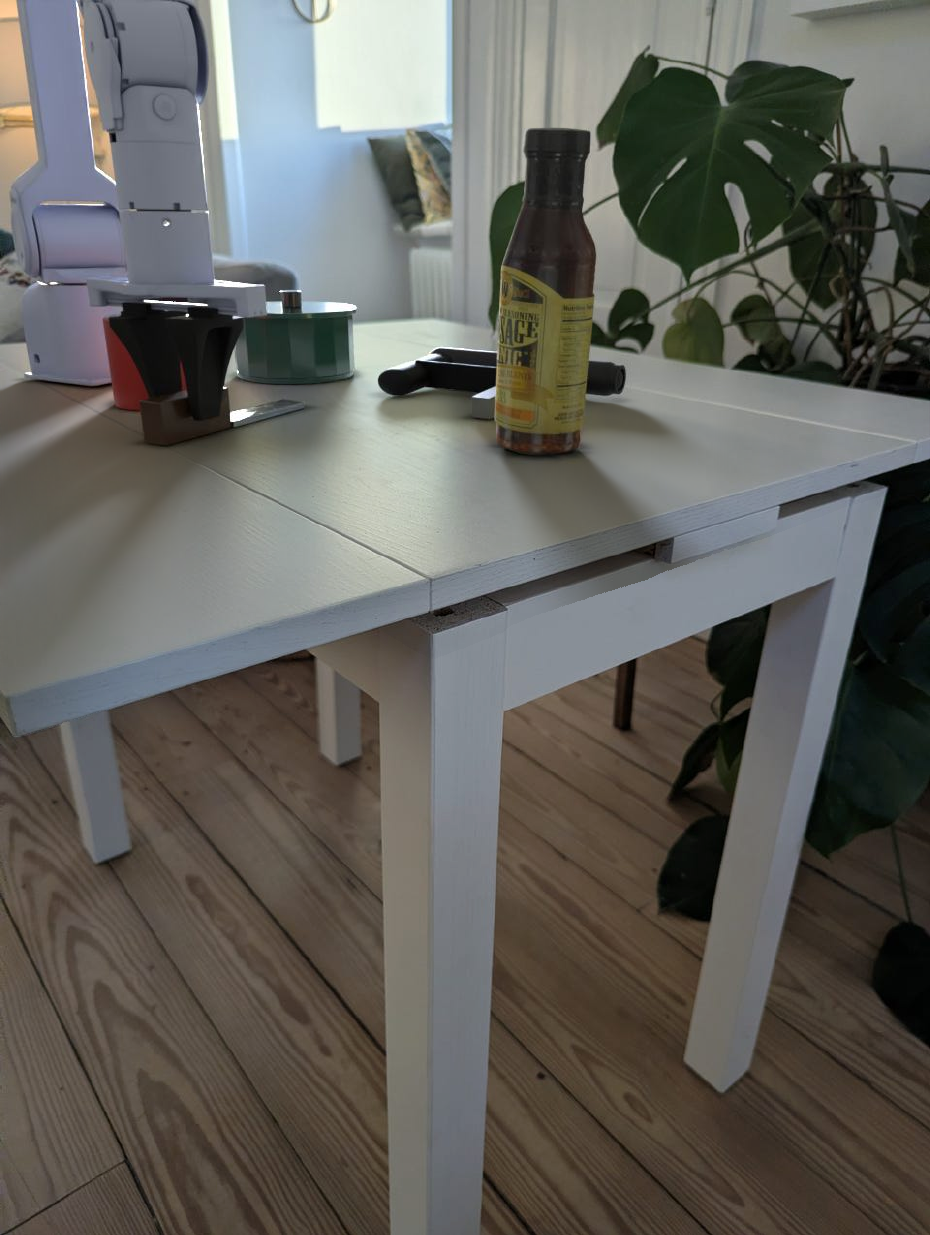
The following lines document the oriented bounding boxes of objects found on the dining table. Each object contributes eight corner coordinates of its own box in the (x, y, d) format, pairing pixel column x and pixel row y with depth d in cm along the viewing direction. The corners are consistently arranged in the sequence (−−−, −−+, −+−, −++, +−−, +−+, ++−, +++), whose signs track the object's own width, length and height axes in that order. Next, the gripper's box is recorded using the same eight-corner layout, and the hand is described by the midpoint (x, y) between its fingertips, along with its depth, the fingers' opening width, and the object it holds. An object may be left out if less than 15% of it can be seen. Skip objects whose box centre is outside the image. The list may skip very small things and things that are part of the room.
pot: (212, 377, 90) (206, 314, 87) (285, 362, 99) (281, 304, 97) (308, 388, 85) (304, 321, 82) (375, 371, 94) (373, 310, 92)
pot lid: (199, 320, 87) (196, 292, 86) (281, 310, 98) (279, 284, 96) (305, 328, 82) (304, 298, 81) (380, 316, 92) (379, 289, 91)
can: (96, 405, 76) (82, 317, 73) (157, 392, 82) (147, 310, 79) (158, 413, 73) (147, 322, 71) (217, 400, 79) (209, 314, 76)
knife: (282, 405, 77) (280, 368, 76) (305, 407, 76) (303, 371, 75) (142, 442, 64) (136, 399, 63) (167, 446, 63) (162, 403, 62)
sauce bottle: (480, 441, 66) (486, 130, 58) (558, 435, 68) (574, 134, 60) (517, 462, 60) (528, 122, 52) (600, 455, 62) (624, 127, 54)
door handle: (557, 396, 69) (632, 357, 81) (344, 373, 78) (441, 341, 90) (556, 439, 70) (630, 394, 83) (347, 411, 79) (443, 375, 92)
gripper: (38, 210, 60) (72, 415, 66) (206, 211, 54) (228, 437, 60) (120, 210, 66) (145, 399, 72) (280, 212, 60) (293, 418, 66)
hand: (187, 415), depth 66 cm, fingers open, 3 cm apart
